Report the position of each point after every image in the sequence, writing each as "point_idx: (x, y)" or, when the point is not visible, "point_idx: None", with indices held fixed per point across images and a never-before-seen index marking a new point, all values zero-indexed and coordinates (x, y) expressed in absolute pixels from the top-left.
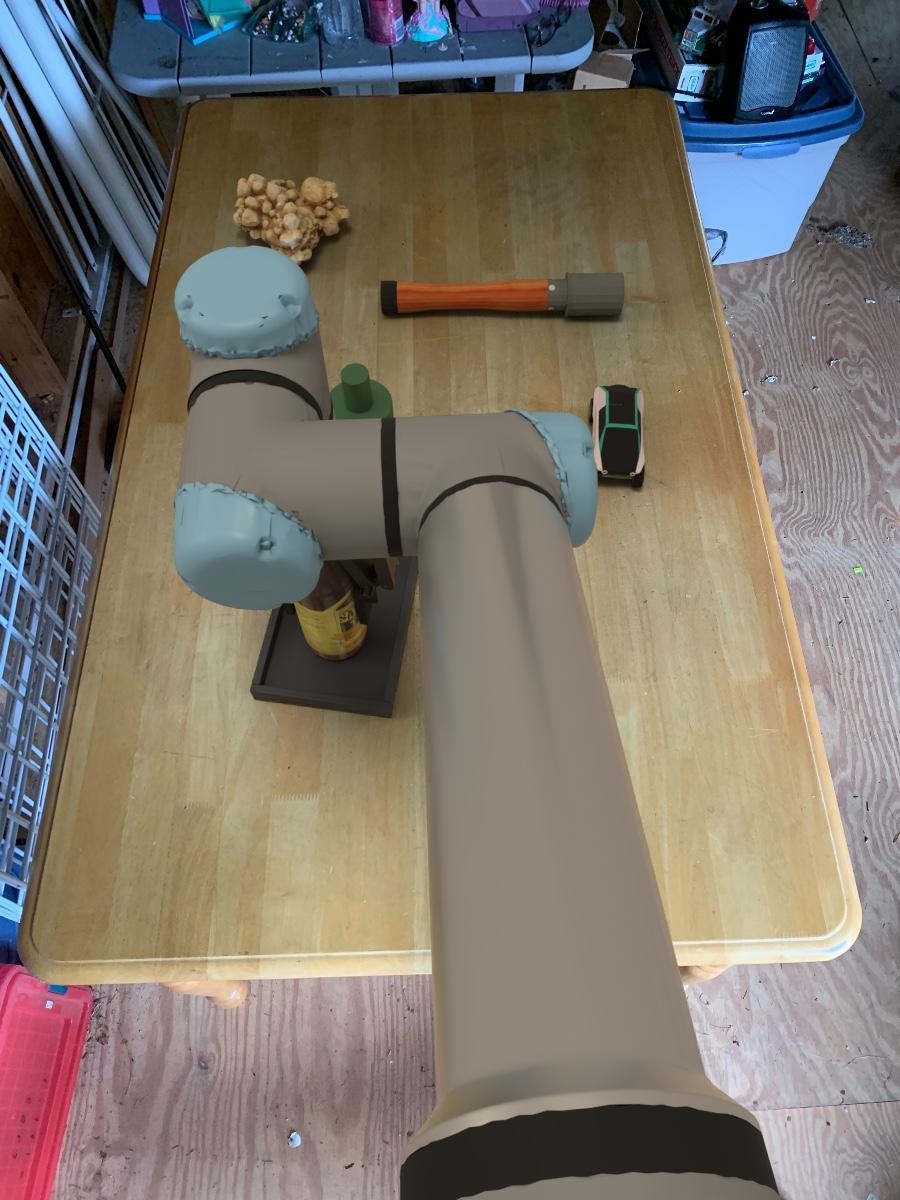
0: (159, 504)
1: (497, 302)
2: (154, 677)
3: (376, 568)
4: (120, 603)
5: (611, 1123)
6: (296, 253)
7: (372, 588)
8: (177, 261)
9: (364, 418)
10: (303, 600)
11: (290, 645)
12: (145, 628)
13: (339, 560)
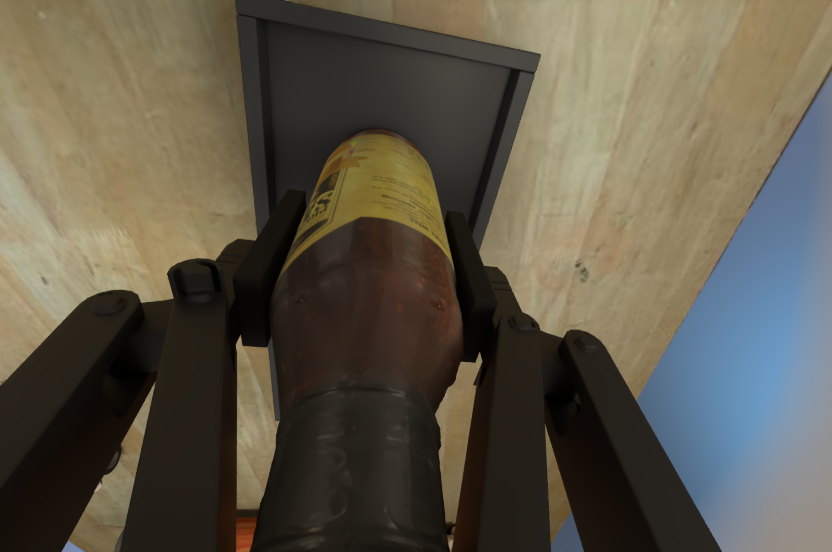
0: (614, 351)
1: (252, 532)
2: (690, 104)
3: (44, 416)
4: (701, 231)
5: None
6: (450, 550)
7: (176, 294)
8: (551, 523)
9: None
10: (414, 249)
11: (458, 161)
12: (678, 193)
13: (215, 454)
